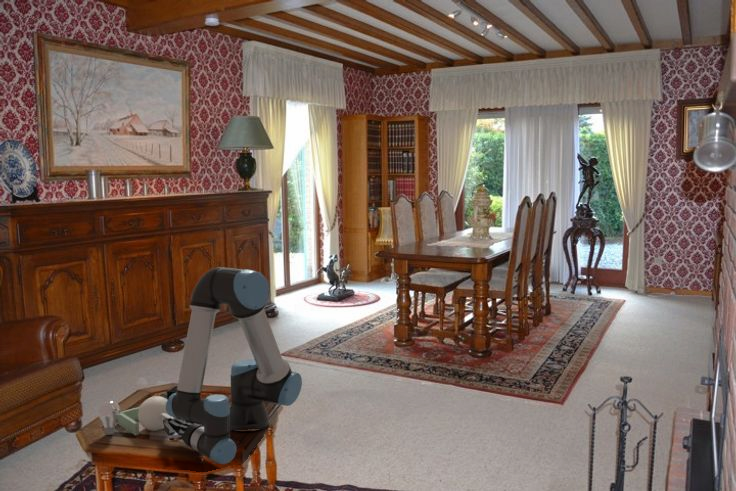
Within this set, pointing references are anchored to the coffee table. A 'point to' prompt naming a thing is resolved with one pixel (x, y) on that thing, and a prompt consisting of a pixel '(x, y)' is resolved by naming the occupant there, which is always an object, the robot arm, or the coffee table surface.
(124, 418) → the green u-shaped channel
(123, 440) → the coffee table surface
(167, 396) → the figurine character
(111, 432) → the light bulb
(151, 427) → the ball
